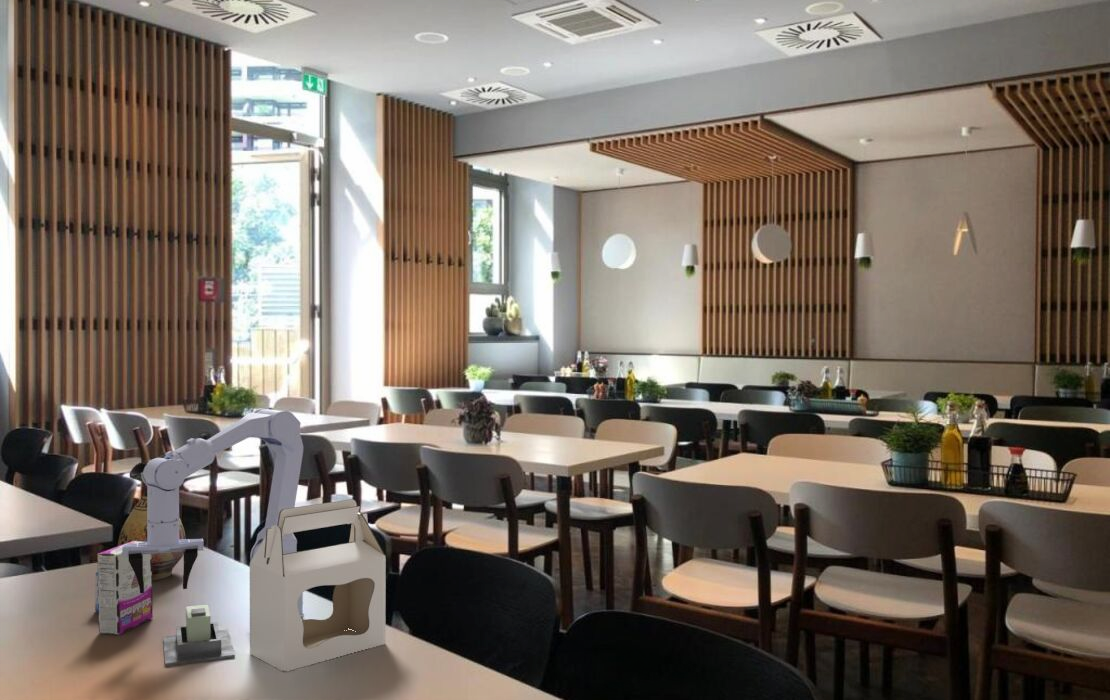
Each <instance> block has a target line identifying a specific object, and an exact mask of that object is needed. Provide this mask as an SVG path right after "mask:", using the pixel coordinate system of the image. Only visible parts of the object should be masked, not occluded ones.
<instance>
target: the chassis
mask: <svg viewBox="0 0 1110 700" xmlns="http://www.w3.org/2000/svg"><path fill="white" fill-rule="evenodd" d="M163 652H164V655H163V656H164V667H165V668H167V667H174V666H181V665H188V664H196V663H197V664H199V663H205V662H206V663H207V662H213V661H220V660H228V659H235V658H236V654H235V650H234V647H233V643H232V640H231V635H230V631H229V628H228V629H227V628H225V629H220V628H219V624H218V621H214V622H210V640H204V641H196V642H188V643H187V635H186V624H184V625H177V626H175V635H167V636H166V635H165V636H163Z"/></svg>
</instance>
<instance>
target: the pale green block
mask: <svg viewBox="0 0 1110 700" xmlns="http://www.w3.org/2000/svg"><path fill="white" fill-rule="evenodd" d="M210 623H211V611H210V608H209V604H199V605H191V606H190V605H189V606H185V625H186V635H187V643H188V642H196V641H204V640H210Z"/></svg>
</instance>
